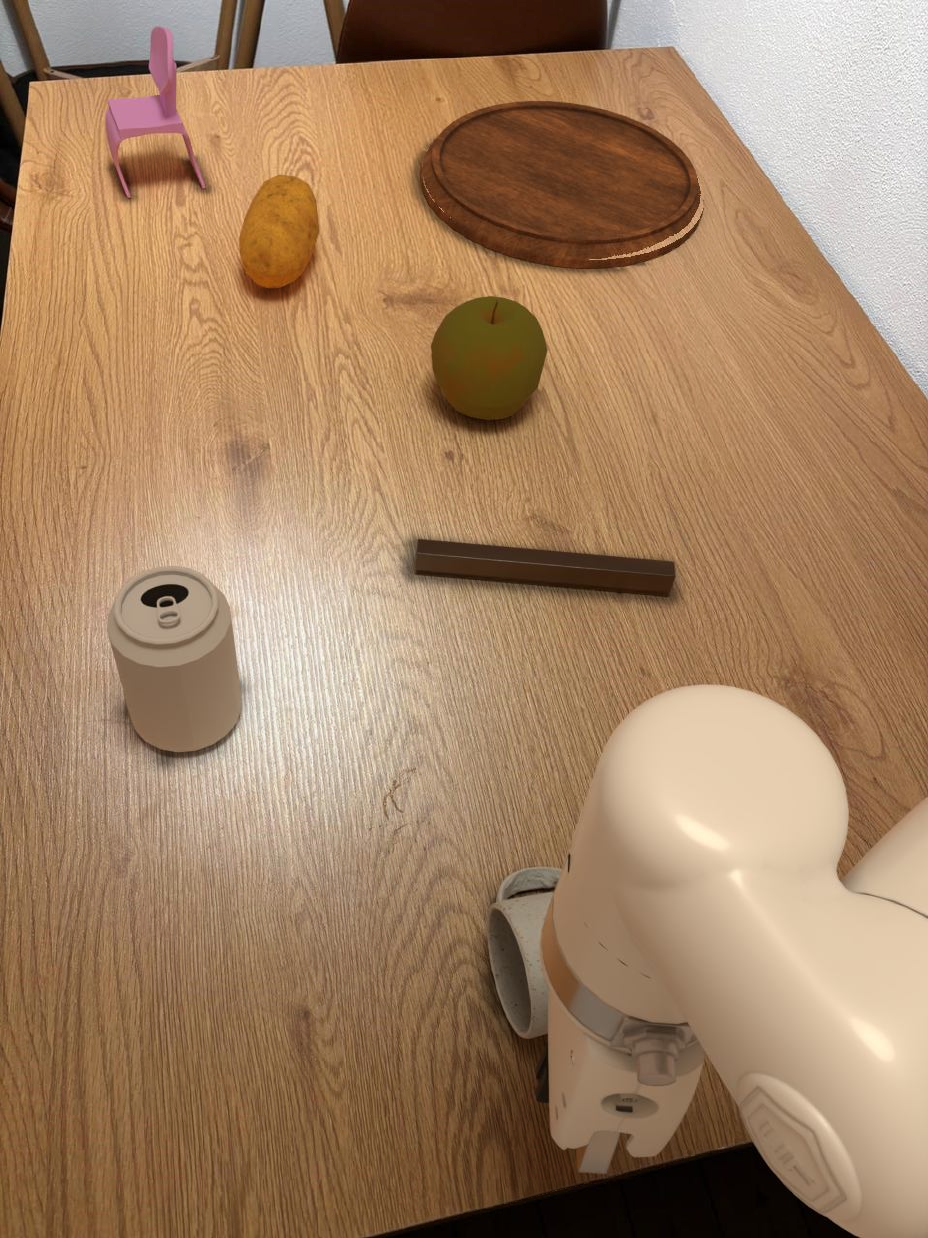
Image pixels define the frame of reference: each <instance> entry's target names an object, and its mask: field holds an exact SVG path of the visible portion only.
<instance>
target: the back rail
mask: <svg viewBox="0 0 928 1238" xmlns="http://www.w3.org/2000/svg"><path fill="white" fill-rule="evenodd" d="M416 540H417V541H416V542H417V543H416V551H415V564H414V574H415V575H421V576H431V577H443V578H455V579H466V580H478V581H479V580H480V581H489V582H501V583H510V584H511V583H512V584H523V585H524V584H525V585H536V586H545V587H546V586H547V587H558V588H569V589H581V590H591V591H592V590H593V591H603V592H615V593H626V594H637V595H638V594H639V595H649V596H661V597H670V594H671V591H672V589H673V585H674V582H675V579H676V578H677V577H676V576H677V575H676V566H675V561H672V560H661V559H651V558H650V559H649V558H640V557H629V556H628V557H627V556H617V555H605V554H594V553H583V552H570V551H561V550H560V551H559V550H551V549H550V550H549V549H537V548H527V547H517V546H516V547H514V546H506V545H505V546H503V545H493V544H483V543H482V544H480V543H469V542H458V541H447V540H437V539H425V538H424V539H423V538H418V539H416Z"/></svg>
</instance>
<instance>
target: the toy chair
mask: <svg viewBox="0 0 928 1238" xmlns="http://www.w3.org/2000/svg"><path fill="white" fill-rule="evenodd" d="M149 48H150V49H149V60H148V61H149V62H148V70H149V72H150V75H151V77H152V80H153V82H154V84H155V86H156V88H157V90H158V92H159V94H155V95H150V96H142V97H131V98H130V97H129V98H128V97H127V98H126V97H125V98H124V97H123V98H122V97H121V98H112V99H107V104H108V108H107V110H106V112H105V133H106V138H107V145H108V148H109V152H110V155H111V157H112V161H113V163H114V166H115V169H116V171H117V174H118V176H119V179H120V182H121V185H122V188H123V190H124V193H125V195H126V197H127V199H129V198H130V199H131V198H132V196H131V194H130V190H129V189H128V185H127V183H126V180H125V177H124V175H123V171H122V169H121V167H120V163H119V151H120V145H121V144H122V142H124V141H125V140H127V139H131V138H137V137H142V136H146V135H153V134H180V135H181V136H182V139H183V142H184V145H185V148H186V152H187V155H188V158H189V161H190V165H192V167H193V170H194V173H195V175H196V177H197V180H198V181H199V184H200V186H201V188H202V189H207V188H206V184H205V182H204V178H203V177H202V174H201V171H200V169H199V165H198V163H197V159H196V157H195V154H194V149H193V146H192V142H191V138H190V136H189V134H188V131H187V129H186V127H185V124H184V123H183V121H182V118H181V116H180V113H179V111H178V110H177V71H178V70H177V67H178V66H177V63H176V61H175V59H174V35H173V32H172V31H171V30H170V29H169V28H167V27H164V26H155V27H153V28H152V30H151V32H150V47H149Z"/></svg>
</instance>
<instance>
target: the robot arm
mask: <svg viewBox="0 0 928 1238" xmlns="http://www.w3.org/2000/svg"><path fill="white" fill-rule="evenodd" d="M839 768H840V767H838V764H837V763H836V761H835V758H834V757H833V755H832V754H831V752H830V750H829V749H828V748H827V746H826V745H825V743H824V742H823V741H822V739H821V738H820V736H819V735H818V734H817V733H816V732H815V731H814V730H813V729H812V728H811V727H810V726H809V725H808V724H807V723H806V722H805V721H804V720H803V719H801V717H799V716H797V715H796V714H795V713H793V712H792V711H791V710H790V709H788V708H787V707H785V706H784V705H781V704H779V702H776V701H774V700H773V699H771V698H769V697H767V696H764V695H762V694H759V693H757V692H754V691H751V690H749V689H745V688H740V687H737V686H732V685H725V684H703V683H702V684H692V685H685V686H683V685H682V686H679V687H676V688H672V689H668V690H665V691H663V692H660V693H658V694H656V695H655V696H654V695H653V696H652V697H650V698H648V699H647V700H644V701H643V702H642V703H640V704H639V705H638V706H637V707H635V708H633V710H630V712H629V713H627V715H626V716H625V717H624V718H623V719H622V720H621V721H620V722H619V723H618V725H617V726H616V728H615V729H614V730H613V731H612V733H611V735H610V736H609V738H608V739H607V742H606V744H605V746H604V748H603V750H602V752H601V755H600V757H599V759H598V762H597V765H596V767H595V771H594V774H593V776H592V778H591V779H592V780H591V783H590V785H589V788H588V792H587V794H586V797H585V800H584V802H583V805H582V808H581V810H580V811H581V812H580V814H579V818H578V820H577V823H576V825H575V828H574V831H573V835H572V837H571V841H570V844H569V846H568V850H567V852H566V856H565V858H564V862H563V865H562V868H561V869H562V871H561V874H560V877H559V879H558V882H557V884H556V887H555V888H554V889H553V892H554V893H553V896H552V898H551V901H550V904H549V907H548V910H547V913H546V916H545V919H544V922H543V926H542V930H541V937H540V960H541V965H542V970H543V975H544V978H545V981H546V983H547V986H548V1034H547V1042H548V1043H547V1042H546V1044H545V1045H544V1048H543V1050H542V1053H541V1054H540V1057H539V1060H538V1061H537V1064H536V1067H535V1078H536V1080H538V1084H537V1086H536V1087H535V1101H536V1102H538V1103H541V1104H544V1103H545V1104H548V1106H549V1107H548V1109H549V1128H550V1129H549V1130H550V1136H551V1138H552V1140H553V1141H554V1143H555V1144H556V1145H557V1146H558V1147H559V1148H560V1149H561V1150H562V1151H566V1150H567V1149H571V1150H575V1157H576V1170H577V1173H581V1174H595V1175H596V1174H597V1175H607V1174H608V1171H609V1169H610V1165H611V1162H612V1161H613V1157H614V1154H615V1151H616V1150H617V1149H616V1148H617V1146H618V1143H619V1139H620V1137H621V1134H625V1135H626V1134H627V1135H628V1134H629V1135H630V1136H629V1137H628V1138H627V1140H626V1142H625V1149H626V1151H627V1152H628V1153H629V1155H630V1156H631V1157H633V1158H653V1157H656V1156H657V1155H658V1154H660V1153H661V1152H662V1150H664V1148H666V1146H667V1144H668V1143H669V1141H671V1139H672V1137H673V1135H674V1134H675V1133H676V1131H677V1129H678V1128H679V1127H680V1125H681V1122H682V1121H683V1120H684V1117H685V1115H686V1113H687V1111H688V1109H689V1107H690V1105H691V1103H692V1100H693V1098H694V1096H695V1093H696V1091H697V1087H698V1083H699V1081H700V1078H701V1075H702V1070H703V1067H704V1063H705V1059H706V1058H705V1057H706V1056H707V1057H708V1060H709V1061H710V1062H711V1064H712V1065H713V1067H714V1069H715V1070H716V1073H717V1074H718V1075H719V1078H720V1079H721V1080H722V1082H723V1084H724V1086H725V1088H726V1089H727V1090H728V1092H729V1094H730V1095H731V1097H732V1099H733V1100H734V1102H735V1104H736V1105H737V1107H738V1108H739V1113H740V1116H741V1119H742V1122H743V1124H744V1127H745V1130H746V1132H747V1133H748V1135H749V1137H750V1139H751V1141H752V1143H753V1145H754V1147H755V1148H756V1150H757V1151H758V1153H759V1154H760V1156H761V1158H762V1159H763V1160H764V1162H765V1164H766V1166H768V1167H769V1169H770V1170H771V1171H772V1172H773V1174H775V1176H776V1177H777V1178H778V1179H779V1180H780V1181H781V1182H782V1184H783V1185H784V1186H785V1187H786V1188H787V1189H788V1190H789V1191H790V1192H791V1193H792V1194H793V1195H794V1196H795V1197H796V1198H797V1199H799V1201H801V1202H803V1203H804V1204H805V1205H806V1206H807V1207H808V1208H810V1209H812V1210H814V1211H815V1212H817V1213H818V1214H820V1215H822V1216H823V1217H826V1218H828V1219H829V1220H830V1221H832V1222H833V1223H834V1224H836V1225H837V1226H839V1227H840V1228H841V1229H843V1230H845V1231H847V1232H848V1233H850V1234H852V1235H853V1236H855V1237H858V1238H928V796H927V797H925V798H924V799H923V800H921V801H920V802H919V803H918V804H916V805H915V806H914V807H913V808H912V809H911V810H910V811H909V812H908V813H906V814H905V815H904V816H903V817H902V818H901V819H900V820H898V822H896V824H894V825H893V826H892V827H891V828H890V829H889V830H888V831H887V832H886V833H885V834H884V835H883V836H882V837H881V838H880V839H878V841H877V842H876V843H875V844H874V845H873V846H872V847H871V848H870V849H869V850H868V851H867V852H866V853H865V854H864V856H862V858H860V859H859V861H857V863H855V865H854V866H852V868H850V870H849V871H847V872H846V874H845V875H844V876H843V877H842V878H839V876H838V871H837V870H838V865H839V862H840V859H841V857H842V854H843V852H844V849H845V845H846V840H847V837H848V830H849V821H850V818H849V817H850V809H849V801H848V794H847V789H846V785H845V782H844V779H843V777H842V773H841V771H840V769H839Z"/></svg>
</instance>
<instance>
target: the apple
mask: <svg viewBox="0 0 928 1238" xmlns="http://www.w3.org/2000/svg"><path fill="white" fill-rule="evenodd" d="M430 353H431V366H432V372H433V375H434V377H435V380H436V382H437V385H438V387H439V388H440V390H441V392H442V395H443V396H444V398H445V400H446V402H447V403H448V404H449V405H450V406H451V407H452V408H453V409H454V410H455V411H456V412H457V413H460V414H462V415H465V416H468V417H469V418H475V419H480V420H487V421H490V420H503V419H506V418H508V417H511V416H513V415H516V414H517V413H519V411H520V410H521V409H522V407H523V406H524V405H525V404H526V403H527V402H528V400H529V399H530V398H531V396H532V395H534V393H535V392H536V391H537V389H539V386H540V381H541V378H542V374H543V369H544V366H545V361H546V357H547V354H548V345H547V343H546V338H545V334H544V330H543V328H542V326H541V324H540V322H539V320H538V318H537V317H536V316H535V314H533V313H532V312H531V311H530V310H529V309H528V308H527V307H525V305H523V304H521V303H520V302H518V301H516V300H513V299H509V298H506V297H503V296H494V295H493V296H492V295H487V296H481V297H476V298H475V297H474V298H472V299H469V300H466V301H465V302H462V303H461V304H459V305H458V306H456V307H454V308H453V309H452V310H450V311H449V313H447V314H446V315H445V316H443V319H442V320H441V322H440V324H439V326H438V327H437V329H436V331H435V332H434V336H433V338H432V340H431V344H430Z"/></svg>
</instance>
